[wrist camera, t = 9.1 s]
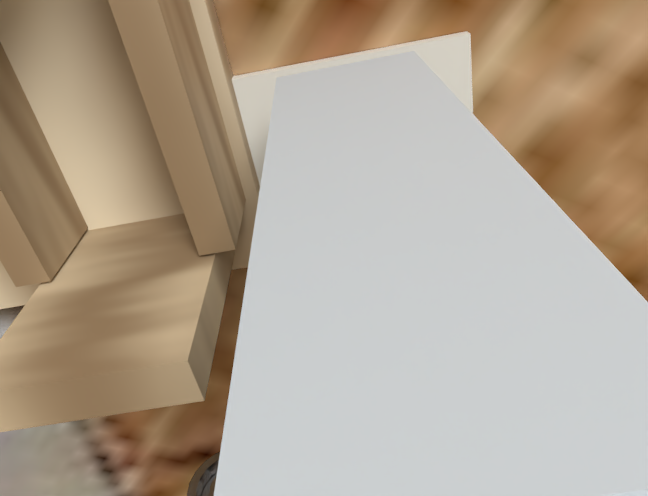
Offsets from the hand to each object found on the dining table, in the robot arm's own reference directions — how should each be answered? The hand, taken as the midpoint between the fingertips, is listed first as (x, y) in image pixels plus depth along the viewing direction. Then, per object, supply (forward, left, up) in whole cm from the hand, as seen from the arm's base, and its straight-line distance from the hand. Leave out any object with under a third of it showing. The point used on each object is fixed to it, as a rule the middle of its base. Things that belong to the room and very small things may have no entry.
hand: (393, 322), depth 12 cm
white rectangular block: (0, 0, -5) cm, 5 cm away
